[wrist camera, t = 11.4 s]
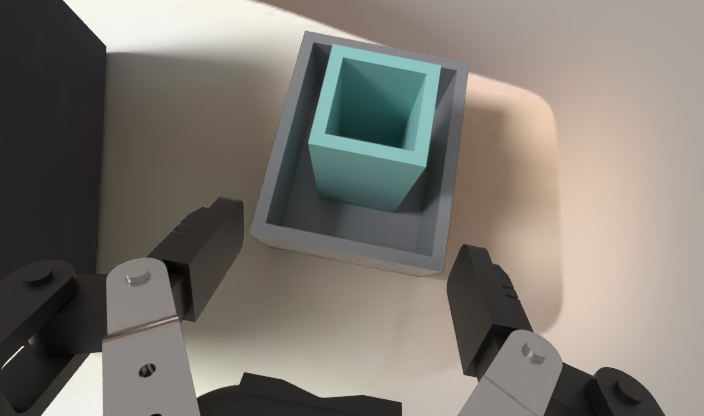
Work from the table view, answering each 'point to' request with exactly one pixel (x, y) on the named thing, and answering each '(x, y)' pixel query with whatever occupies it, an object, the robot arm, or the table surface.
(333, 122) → the box
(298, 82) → the big crate
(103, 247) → the table surface
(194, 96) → the table surface
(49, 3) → the radio
